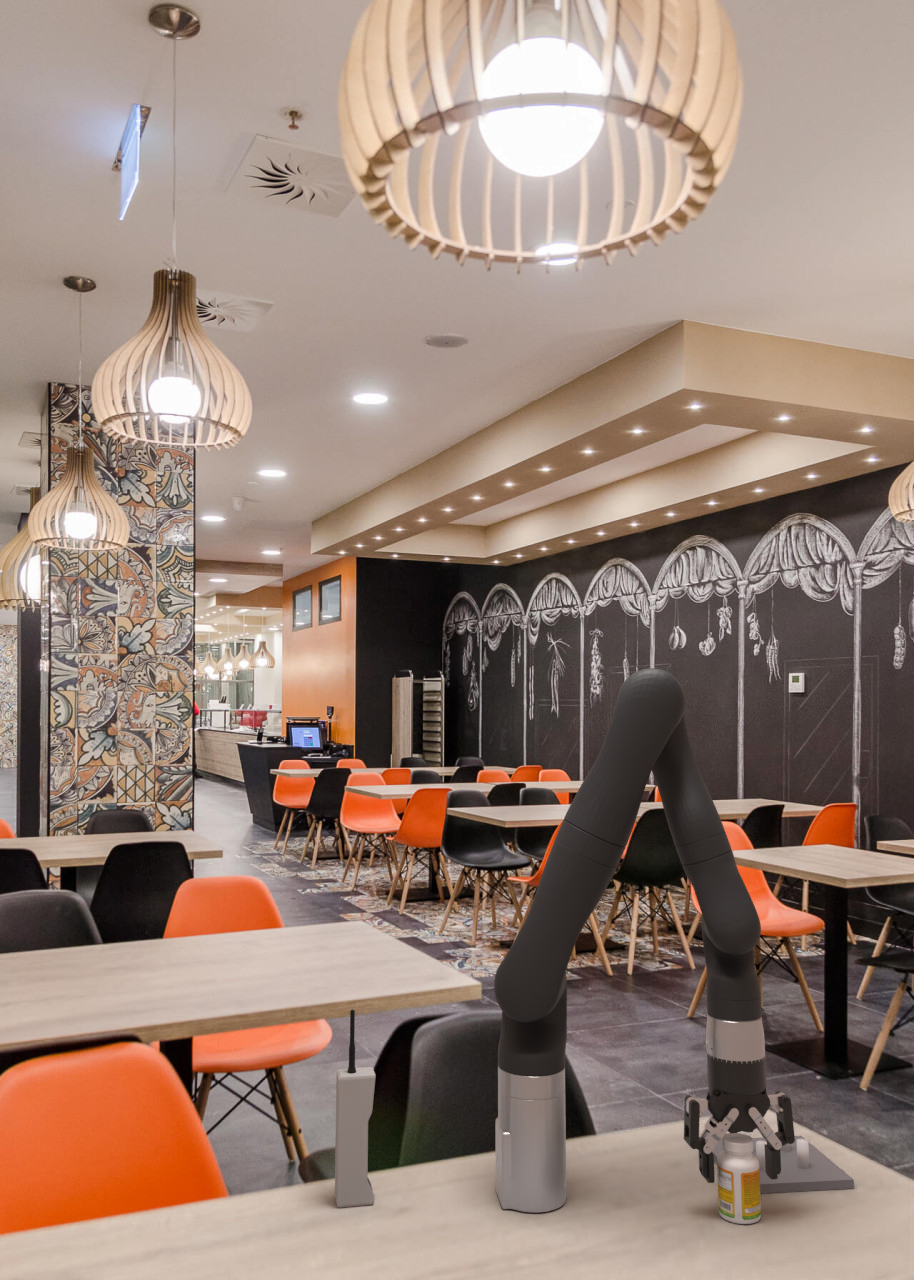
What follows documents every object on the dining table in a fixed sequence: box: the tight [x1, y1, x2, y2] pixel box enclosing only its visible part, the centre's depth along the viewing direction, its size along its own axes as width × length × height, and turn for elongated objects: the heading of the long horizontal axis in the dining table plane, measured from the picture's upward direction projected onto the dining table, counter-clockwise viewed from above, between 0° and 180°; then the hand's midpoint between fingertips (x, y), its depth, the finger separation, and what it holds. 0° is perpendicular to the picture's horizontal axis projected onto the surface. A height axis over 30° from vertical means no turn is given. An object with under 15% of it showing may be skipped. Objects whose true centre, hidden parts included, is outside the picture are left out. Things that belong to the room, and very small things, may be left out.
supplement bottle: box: [716, 1132, 762, 1225], centre depth 131 cm, size 5×5×10 cm
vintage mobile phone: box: [334, 1009, 377, 1209], centre depth 136 cm, size 4×5×25 cm
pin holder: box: [712, 1131, 855, 1194], centre depth 146 cm, size 16×16×5 cm
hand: (740, 1178), depth 131 cm, fingers open, 8 cm apart
